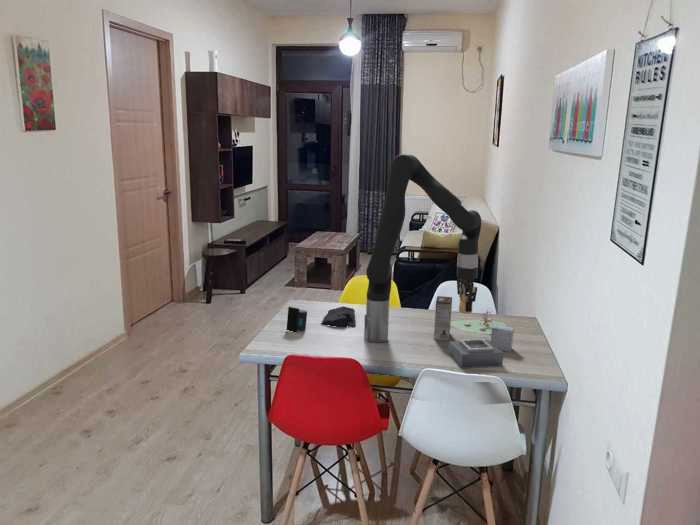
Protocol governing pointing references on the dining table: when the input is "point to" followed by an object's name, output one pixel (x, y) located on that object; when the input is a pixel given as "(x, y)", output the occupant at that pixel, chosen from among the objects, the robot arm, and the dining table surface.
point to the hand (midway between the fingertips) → (465, 309)
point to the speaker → (296, 319)
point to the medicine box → (502, 337)
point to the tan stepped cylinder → (463, 305)
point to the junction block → (475, 353)
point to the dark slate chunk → (340, 317)
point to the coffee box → (442, 318)
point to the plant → (477, 325)
